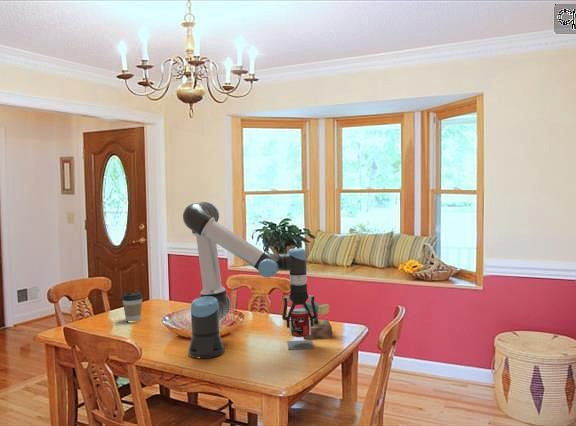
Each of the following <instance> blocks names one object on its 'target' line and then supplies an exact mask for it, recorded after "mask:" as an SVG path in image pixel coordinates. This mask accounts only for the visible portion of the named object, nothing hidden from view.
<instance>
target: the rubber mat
mask: <svg viewBox="0 0 576 426" xmlns="http://www.w3.org/2000/svg"><path fill="white" fill-rule="evenodd" d="M286 343H287V348H288V351H293V350H295V351H297V350H299V351H300V350H314V349H315V347H314V345H313V341H312V339H303V340H287V341H286Z"/></svg>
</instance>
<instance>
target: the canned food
mask: <svg viewBox="0 0 576 426" xmlns="http://www.w3.org/2000/svg"><path fill="white" fill-rule="evenodd" d="M309 319H310V317H309V315H308V311H306V309H303V307H302V308H301V307H300V308H294V310H293V312H291V317H290V320H291V332H292V336H291V337H294V338H304V337H306V336H308V335H309Z"/></svg>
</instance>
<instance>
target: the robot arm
mask: <svg viewBox="0 0 576 426" xmlns="http://www.w3.org/2000/svg"><path fill="white" fill-rule="evenodd" d="M182 219H183V221H182V222H183V223H184V225H185V226H186V227H187V228H188V229H189V230H191V233H192V235H193V236H195V237H196V245H197V253H198V260H199V268H200V276H201V284H202V290H201V291H200V292H199V293H200V295H199V296H200V297H196V298H194V299H193V300H192V301H191V304H190V319H191V320H190V321H191V338H190V343H189V346H188V355H189V354H190V355H191V356H194V357H200V358H206V359H211V358H210V357H213V358H216V357H215V356H217V357H219V356H222V355H223V354H224V352H225V345H224V343H223V340H222V338H221V334H220V321H221V320H222V319H224V318H225V317H226V316H227V315H228V313H229V311H230V309H231V299H230V297H229V296H228V295H227V290H226V288H225V287H224V286H223V285H222V278H221V269H220V263H219V262H220V261H219V254H218V253H219V252H218V248H217V247H218V246H217V245H219V247H221V248H223V249H225V250H226V251H227V252H229V253H230V254H232V255H234V256H236V257H237V258H239V259H241V260H242V261H243V262H245V263H246V264H248V265H249V266H251V267H252V268H253V269H255V270H257V271H258V273H259V274H260V275H261V277H263V278H271V277H272V278H273V277H274V276H275V275H277V273H278V272H279V271H281V272H282V271H289V283H290V284H289V291H290V292H289V296H283V310H282V315H281V316H282V320H283V321H286V328H287V329H289V336H290V337H293V336H292V332H291V312H293V310H294V309H295V307H296V306H299V305H300V306H303V305H304V307H305V309H306V311H308V315H309V335H311V327H313V320H314V318H317V314H316V309H315V304H314V302H315V296H314V294H312V295H310V294H308V284H307V282H308V281H307V280H308V279H307V277H308V276H307V255H306V254H307V253H306V249H304V248H300V247H299V248H290V249H288V253H265V252H263V251H262V250H261V249H259V248H257V247H256V246H255V245H253V244H252V243H249V242H248V241H246V240H245V239H244V238H242V237H240V236H239V235H237V234H236V233H234V232H233V231H231V230H229V229H228V228H227V227H225V226H223V225H221V223H219V222H218V221H219V219H220V212H219V210H218V207H216V205H214V204H213V203H211V202H206V201H202V202H195V203H194V202H193V203H191V204H189V205H188V206H187V207H185V209H184V211H183V213H182ZM289 300H290V301H291V302H292V303H291V306H290V308H289V310H287V308H288V302H289ZM308 300H309V301H310V302H311V305H312V310H313V315H312V312H310V311H309V309H308V306H307V304H306V302H307V301H308ZM287 311H288V312H287ZM222 353H223V354H222ZM218 355H219V356H218ZM191 356H190V357H191Z"/></svg>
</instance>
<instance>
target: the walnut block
mask: <svg viewBox="0 0 576 426" xmlns="http://www.w3.org/2000/svg"><path fill="white" fill-rule="evenodd" d="M332 328H333V327H332V325H331V323H330V321H329V320H328V319H318V323H314V319H313V327H311V335H308V336H306V337H303V340H313V339H314V340H315V339H316V340H317V339H330V338H331V339H332V338H333V331H332V330H333V329H332Z"/></svg>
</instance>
